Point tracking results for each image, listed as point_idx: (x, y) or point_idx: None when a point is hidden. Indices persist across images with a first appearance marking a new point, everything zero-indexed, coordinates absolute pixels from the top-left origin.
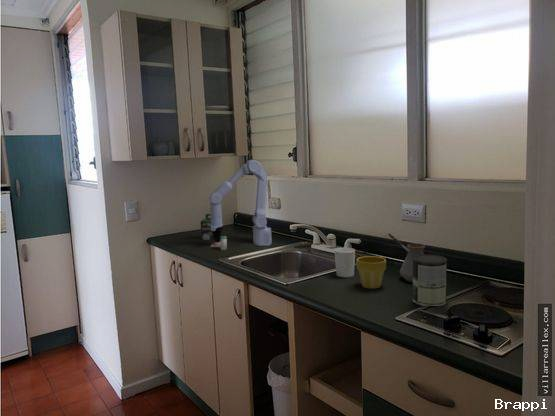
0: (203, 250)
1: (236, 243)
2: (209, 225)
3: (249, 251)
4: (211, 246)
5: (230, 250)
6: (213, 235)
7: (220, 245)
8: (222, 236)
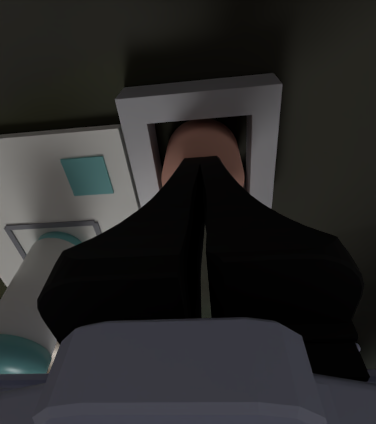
0: (10, 20)
1: (366, 255)
2: (47, 396)
3: None
4: (120, 108)
5: None
6: (141, 208)
7: None
8: (7, 364)
